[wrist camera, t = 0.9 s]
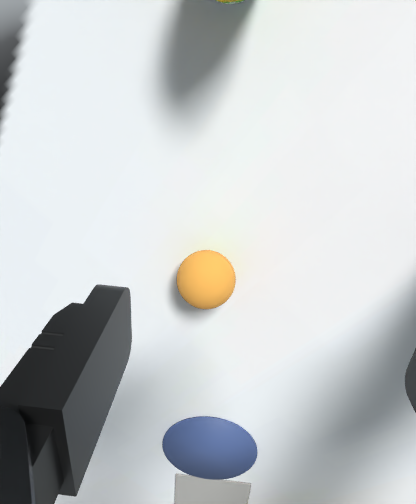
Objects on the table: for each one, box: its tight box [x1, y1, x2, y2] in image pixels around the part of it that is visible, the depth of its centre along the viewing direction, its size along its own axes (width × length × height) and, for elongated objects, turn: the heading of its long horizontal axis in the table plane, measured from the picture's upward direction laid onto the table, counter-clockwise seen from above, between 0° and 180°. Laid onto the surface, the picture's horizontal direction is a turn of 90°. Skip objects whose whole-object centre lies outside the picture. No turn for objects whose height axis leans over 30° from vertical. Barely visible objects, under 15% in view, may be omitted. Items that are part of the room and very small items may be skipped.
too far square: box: [175, 474, 251, 504], centre depth 57 cm, size 11×11×1 cm
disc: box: [163, 417, 257, 480], centre depth 52 cm, size 13×13×1 cm
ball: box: [177, 250, 236, 309], centre depth 36 cm, size 6×6×6 cm
